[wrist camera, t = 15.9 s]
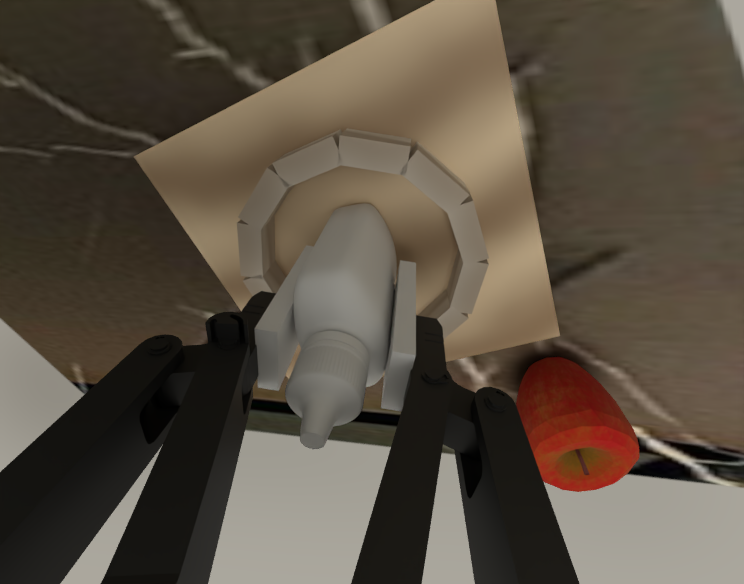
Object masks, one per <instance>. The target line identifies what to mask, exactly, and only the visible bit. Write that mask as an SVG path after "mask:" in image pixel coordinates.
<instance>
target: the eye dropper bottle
mask: <svg viewBox="0 0 744 584" xmlns="http://www.w3.org/2000/svg"><path fill="white" fill-rule="evenodd" d="M396 270H397V262H396V252H395V247H394V243H393V239H392V236H391V234H390V231H389V229H388V227H387V225H386V223H385V221H384V219H383V218H382V216H381V215H380V213H379V212H378V210H377V209H376V208H375V207H374V206H372V205H371V204H367V203H362V204H356V205H350V206H345V207H340V208H338V209H336V210H334V212H333V213H332V215H331V217H330V218H329V220H328V222H327V224H326V225H325V227H324V229H323V231H322V233H321V234H320V236H319V238H318V240H317V241H316V243H315V245H314V247H313V249H312V251H311V252H310V254H309V256H308V258H307V260H306V261H305V263H304V265H303V267H302V269H301V271H300V273H299V275H298V278H297V281H296V285H295V291H294V301H293V316H294V325H295V330H296V335H297V339H298V342H299V345H300V348H301V351H300V353H299V356H298V358H297V361H296V363H295V366H294V368H293V371H292V373H291V376H290V378H289V380H288V383H287V385H286V390H285V395H286V399H287V402H288V404H289V406H290V407H291V409H292V410H293V411H294V412H295V413H296V414H297V415H298V416H300V417H301V418H302V422H301V433H300V441H301V443H302V444H303V445H304V446H306V447H308V448H312V449H319V448H322V447H323V446H324V445H325V443H326V441H327V439H328V437H329V434H330V432H331V430H332V428H333V426H338V425H343V424H346V423H348V422H350V421H352V420H353V419H355V418H356V417H357V416H358V415H359V413H361V410H362V408H363V403H364V396H365V390H366V387H369V386H371V385H374V384H376V383H377V382H378V381H379V380H380V379H381V377H382V376H383V373H384V371H385V367H386V363H387V357H388V351H389V343H390V333H391V323H392V312H393V302H394V292H395V282H396Z"/></svg>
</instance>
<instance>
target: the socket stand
mask: <svg viewBox="0 0 744 584" xmlns="http://www.w3.org/2000/svg"><path fill="white" fill-rule="evenodd" d="M134 158H135V159H136V161H137V162H138V163H139V165H140V166H141V168H142V169H143V171H144V172H145V173H146V175H147V176H148V178H149V179H150V181H151V182H152V184H153V185H154V186H155V188H156V189H157V191H158V192H159V194H160V195H161V196H162V198H163V199H164V201H165V202H166V204H167V205H168V207H169V208H170V209H171V211H172V212H173V214H174V215H175V217H176V218H177V219H178V221H179V222H180V224H181V225H182V227H183V228H184V230H185V231H186V232H187V234H188V235H189V237H190V238H191V240H192V241H193V242H194V244H195V245H196V247H197V248H198V250H199V251H200V253H201V254H202V255H203V257H204V258H205V260H206V261H207V263H208V264H209V265H210V267H211V268H212V270H213V271H214V273H215V274H216V276H217V277H218V278H219V280H220V281H221V283H222V284H223V286H224V287H225V288H226V290H227V291H228V293H229V294H230V296H231V297H232V298H233V300H234V301H235V303H236V304H237V306H238V307H239V309H240V310H241V311H242V309H243V308H244V307H245V306H246V304H247V303H248V301H249V300H250V298H251V297H252V296H254V295H255V294H257V293H259V292H260V291H265V292H271V293H277V292H278V290H279V288H280V287H281V285H282V284H283V282H284V280H285V279H286V277H287V276H288V274H289V272H290V271H291V269H292V267H293V266H294V264H295V263H296V261H297V259H298V258H299V256H300V255H301V253H302V251H303V250H304V248H305V247H306V245H308V246H314V245H315V243H316V241H317V240H318V238H319V236H320V234H321V233H322V231H323V229H324V227H325V225H326V224H327V222H328V220H329V218H330V217H331V215H332V213H333V212H334V210H336V209H338V208H340V207H345V206H350V205H356V204H362V203H367V204H371V205H372V206H374V207H375V208H376V209H377V210H378V212H379V213H380V215H381V216H382V218H383V219H384V221H385V223H386V225H387V227H388V229H389V231H390V234H391V236H392V239H393V243H394V247H395V252H396V262H397V270H396V280H397V275H398V270H399V264H400V260H402V261H408V262H415V263H416V315H418V316H424V317H430V318H436V319H437V320H438V321H439V323H440V324H441V326H442V328H443V338H444V348H445V358H446V362H448V361H452V360H456V359H461V358H465V357H470V356H474V355H478V354H483V353H487V352H492V351H496V350H500V349H505V348H509V347H514V346H518V345H522V344H527V343H531V342H536V341H540V340H544V339H549V338H553V337H558V336H560V333H559V328H558V322H557V317H556V312H555V307H554V302H553V296H552V291H551V286H550V281H549V276H548V271H547V265H546V260H545V255H544V250H543V245H542V239H541V234H540V229H539V224H538V219H537V214H536V208H535V203H534V198H533V193H532V188H531V182H530V177H529V172H528V167H527V162H526V157H525V151H524V146H523V141H522V136H521V131H520V126H519V120H518V115H517V110H516V105H515V100H514V94H513V89H512V84H511V79H510V74H509V69H508V63H507V58H506V53H505V48H504V43H503V37H502V32H501V27H500V22H499V17H498V12H497V6H496V1H495V0H435V1H433V2H431V3H429V4H427V5H425V6H423V7H421V8H419V9H417V10H415V11H413V12H412V13H410V14H408V15H406V16H404V17H402V18H400V19H398V20H396V21H394V22H392V23H390V24H388V25H386V26H385V27H383V28H381V29H379V30H377V31H375V32H373V33H371V34H369V35H367V36H365V37H363V38H361V39H359V40H358V41H356V42H354V43H352V44H350V45H348V46H346V47H344V48H342V49H340V50H338V51H336V52H334V53H333V54H331V55H329V56H327V57H325V58H323V59H321V60H319V61H317V62H315V63H313V64H311V65H309V66H307V67H306V68H304V69H302V70H300V71H298V72H296V73H294V74H292V75H290V76H288V77H286V78H284V79H282V80H280V81H279V82H277V83H275V84H273V85H271V86H269V87H267V88H265V89H263V90H261V91H259V92H257V93H255V94H253V95H252V96H250V97H248V98H246V99H244V100H242V101H240V102H238V103H236V104H234V105H232V106H230V107H228V108H226V109H225V110H223V111H221V112H219V113H217V114H215V115H213V116H211V117H209V118H207V119H205V120H203V121H201V122H199V123H198V124H196V125H194V126H192V127H190V128H188V129H186V130H184V131H182V132H180V133H178V134H176V135H174V136H172V137H171V138H169V139H167V140H165V141H163V142H161V143H159V144H157V145H155V146H153V147H151V148H149V149H147V150H145V151H144V152H142V153H140V154H138V155H136V156H134ZM395 286H396V282H395ZM300 351H301V348H300V345H299V344H298V346H297V349H296V351H295V353H294V356H293V358H292V360H291V363H290V365H289V367H288V370H287V372H286V374H285V375H286V376H287V378H288V379H289V378H290V376H291V373H292V371H293V368H294V366H295V363H296V361H297V358H298V356H299V353H300ZM384 374H385V371H384V373H383V376H384Z"/></svg>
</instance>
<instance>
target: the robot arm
mask: <svg viewBox="0 0 744 584" xmlns="http://www.w3.org/2000/svg"><path fill="white" fill-rule="evenodd" d="M313 247H314V246H308V245H306V247H305V248H304V250H303V251H302V253H301V255H300V256H299V258H298V259H297V261H296V263H295V264H294V266H293V267H292V269H291V271H290V272H289V274H288V276H287V277H286V279H285V280H284V282H283V284H282V285H281V287H280V288H279V290H278V292H277V293H271V292H265V291H260V292H259V293H257V294H255V295H254V296H252V297H251V298H250V300H249V301H248V303H247V304H246V306H245V307H244V308H243V309H242V312H240V313H235V312H223V313H219V314H216V315H214V316H212V317H210V318H209V319H208V320H207V321H206V323H205V324H206V331H207V337H208V344H202V345H190V346H183V345H182V341H181V340H180V339H179V338H178V337H176V336H173V335H159V336H154V337H151V338H149V339H147V340H145V341H144V342H142V343H141V344H140V345H138V346H137V347H136V348H135V349H134V350H133V351H132V352H131V353H130V354H129V355H128V356H126V357H125V358H124V359H123V360H122V361H121V362H120V363H119V364H118V365H117V366H116V367H114V368H113V369H112V370H111V371H110V372H109V373H108V374H107V375H106V376H105V377H104V378H102V379H101V380H100V381H99V382H98V383H97V384H96V385H95V386H94V387H93V388H92V389H90V390H89V391H88V392H87V393H86V394H85V395H84V396H83V397H82V398H81V399H80V400H78V401H77V402H76V403H75V404H74V405H73V406H72V407H71V408H70V409H69V410H68V411H66V413H64V414H63V415H62V416H61V417H60V418H59V419H58V420H57V421H56V422H55V423H53V424H52V425H51V426H50V427H49V428H48V429H47V430H46V431H45V432H44V433H42V434H41V435H40V436H39V437H38V438H37V439H36V440H35V441H34V442H33V443H32V444H30V445H29V446H28V447H27V448H26V449H25V450H24V451H23V452H22V453H21V454H20V455H18V456H17V457H16V458H15V459H14V460H13V461H12V462H11V463H10V464H9V465H7V467H5V468H4V469H3V470H2V471H1V472H0V584H60V583H61V582H62V580H63V579H64V578H65V576H66V575H67V574H68V572H69V571H70V570H71V568H72V567H73V565H74V564H75V563H76V561H77V560H78V559H79V557H80V556H81V555H82V553H83V552H84V551H85V549H86V548H87V547H88V545H89V544H90V542H91V541H92V540H93V538H94V537H95V536H96V534H97V533H98V532H99V530H100V529H101V527H102V526H103V525H104V523H105V522H106V521H107V519H108V518H109V516H110V515H111V514H112V513H113V511H114V510H115V508H116V507H117V506H118V504H119V503H120V502H121V500H122V499H123V498H124V496H125V495H126V493H127V492H128V491H129V489H130V488H131V487H132V485H133V484H134V483H135V481H136V480H137V479H138V477H139V476H140V474H141V473H142V472H143V470H144V469H145V468H146V466H147V465H148V464H149V462H150V461H151V460H152V458H153V457H154V455H155V454H156V453H157V451H158V450H159V449H160V447H161V446H162V445H163V446H162V448H161V450H160V452H159V455H158V457H157V459H156V462H155V464H154V466H153V468H152V470H151V473H150V475H149V477H148V479H147V482H146V484H145V486H144V489H143V491H142V493H141V495H140V498H139V500H138V502H137V505H136V507H135V509H134V511H133V514H132V516H131V518H130V520H129V522H128V525H127V527H126V529H125V532H124V534H123V536H122V538H121V540H120V543H119V545H118V547H117V550H116V552H115V554H114V556H113V559H112V561H111V563H110V565H109V568H108V570H107V572H106V574H105V577H104V579H103V580H102V583H101V584H208V581H209V577H210V572H211V569H212V565H213V560H214V556H215V552H216V548H217V544H218V539H219V535H220V531H221V527H222V523H223V519H224V515H225V510H226V506H227V502H228V498H229V494H230V489H231V486H232V481H233V477H234V473H235V469H236V464H237V461H238V456H239V452H240V448H241V444H242V440H243V436H244V432H245V427H246V423H247V419H248V415H249V411H250V407H251V402H252V398H253V388H252V387H253V385H254V383H255V381H256V379H257V377H258V387H259V388H265V389H271V390H277V391H279V388H280V386H281V384H282V381H283V379H284V377H285V374H286V372H287V370H288V367H289V365H290V363H291V360H292V358H293V356H294V353H295V351H296V349H297V346H298V344H299V342H298V339H297V335H296V330H295V325H294V316H293V301H294V291H295V285H296V281H297V278H298V275H299V273H300V271H301V269H302V267H303V265H304V263H305V261H306V260H307V258H308V256H309V254H310V252H311V251H312V249H313ZM381 408H384V409H390V410H396V411H402V412H401V415H400V419H399V422H398V426H397V429H396V432H395V436H394V439H393V443H392V446H391V450H390V453H389V456H388V460H387V463H386V467H385V470H384V473H383V477H382V480H381V484H380V487H379V490H378V494H377V497H376V501H375V504H374V507H373V511H372V514H371V518H370V521H369V525H368V528H367V531H366V535H365V538H364V542H363V545H362V548H361V552H360V555H359V559H358V562H357V566H356V569H355V572H354V576H353V579H352V583H351V584H421V583H422V576H423V570H424V563H425V557H426V550H427V544H428V538H429V531H430V524H431V518H432V511H433V505H434V498H435V492H436V485H437V478H438V472H439V465H440V459H441V453H442V446H443V444H444V445H446V446H448V447H450V448H452V449H454V450H455V456H456V463H457V469H458V476H459V482H460V489H461V495H462V502H463V508H464V515H465V522H466V528H467V535H468V541H469V548H470V554H471V561H472V567H473V574H474V580H475V584H579V581H578V578H577V575H576V573H575V570H574V567H573V565H572V561H571V559H570V556H569V553H568V550H567V547H566V544H565V542H564V539H563V536H562V533H561V530H560V528H559V525H558V522H557V519H556V516H555V514H554V511H553V508H552V505H551V502H550V499H549V497H548V494H547V491H546V488H545V485H544V482H543V480H542V477H541V474H540V471H539V468H538V466H537V463H536V460H535V457H534V454H533V451H532V449H531V446H530V443H529V440H528V437H527V435H526V432H525V429H524V426H523V423H522V420H521V418H520V415H519V412H518V409H517V406H516V404H515V403H514V401H513V399H512V398H511V397H510V396H509V395H508V394H506V393H505V392H503V391H501V390H499V389H496V388H492V387H483V388H481V389H479V390H478V391H477V392H476V393H475V392H472V391H470V390H468V389H465V388H463V387H461V386H459V385H458V384H457V383H455V382H454V381H453V380H452V377H451V375H450V374H449V372H448V371H447V368H446V358H445V348H444V338H443V328H442V326H441V324H440V323H439V321H438V320H437V319H436V318H430V317H424V316H418V315H416V263H415V262H408V261H402V260H400V264H399V270H398V275H397V280H396V286H395V292H394V302H393V312H392V323H391V333H390V343H389V351H388V357H387V363H386V367H385V374H384V384H383V393H382V403H381Z"/></svg>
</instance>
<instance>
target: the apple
mask: <svg viewBox="0 0 744 584" xmlns="http://www.w3.org/2000/svg"><path fill="white" fill-rule="evenodd" d="M516 406H517V409H518V412H519V415H520V418H521V420H522V423H523V426H524V429H525V432H526V435H527V437H528V440H529V443H530V446H531V449H532V451H533V454H534V457H535V460H536V463H537V466H538V468H539V471H540V474H541V477H542V480H543V481H544V482H545V483H548V484H550V485H553V486H555V487H558V488H560V489H562V490H569V491H577V492H579V491H588V490H596V489H599V488H602V487H605V486H608V485H611V484H613V483H615V482H617V481H618V480H620V479H621V478H622V477H623V476H625V475H626V474H627V473H628V472H629V471H630V469H631V468H632V467H633V465H634V464H635V463H636V461H637V460H638V459H639V445H638V441H637V437H636V435H635V432H634V430H633V428H632V426H631V425H630V423H629V422H628V420H627V419H626V417H625V415H624V414H623V412H622V411H621V409H620V408H619V406H618V404H617V403H616V401H615V400H614V399H613V398H612V397H611V395H610V394H609V393H608V392H607V391H606V390H605V389H604V387H603V386H602V385H601V384H600V383H599V382H598V381H597V380H596V379H595V378H594V377H592V376H591V375H590V374H589V373H588V372H587V371H585V370H584V369H583V368H582V367H580V366H579V365H578V364H576V363H574V362H572V361H570V360H567V359H564V358H562V357H548V358H544V359H542V360H540V361H537V362H535V363H533V364H532V365H531V366H530V367H529V368H528V369H527V371H526V373H525V375H524V377H523V379H522V381H521V384H520V387H519V391H518V396H517V403H516Z"/></svg>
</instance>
